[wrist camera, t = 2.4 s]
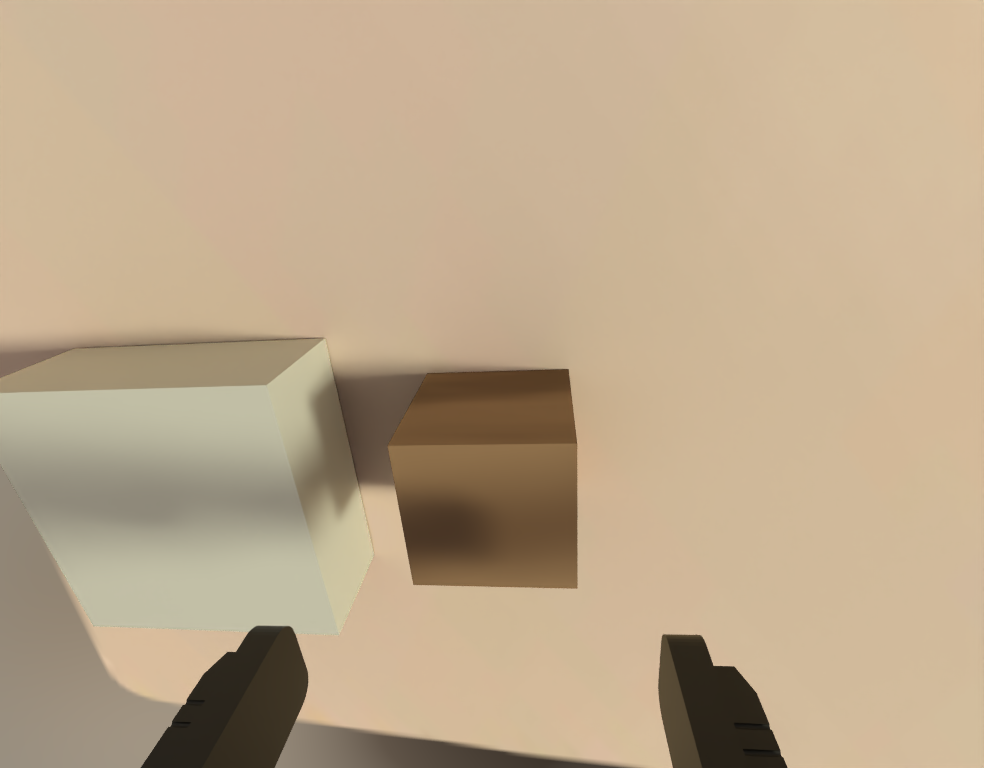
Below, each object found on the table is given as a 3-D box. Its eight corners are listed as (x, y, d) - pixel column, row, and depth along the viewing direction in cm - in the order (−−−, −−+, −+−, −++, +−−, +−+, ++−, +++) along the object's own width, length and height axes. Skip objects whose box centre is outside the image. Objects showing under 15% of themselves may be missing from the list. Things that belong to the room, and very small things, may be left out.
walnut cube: (427, 372, 18) (387, 445, 13) (568, 368, 17) (577, 443, 12) (443, 486, 20) (413, 584, 15) (569, 486, 19) (577, 588, 14)
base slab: (73, 348, 18) (-41, 394, 15) (325, 338, 17) (266, 385, 14) (166, 551, 23) (93, 626, 19) (374, 554, 21) (339, 635, 18)
